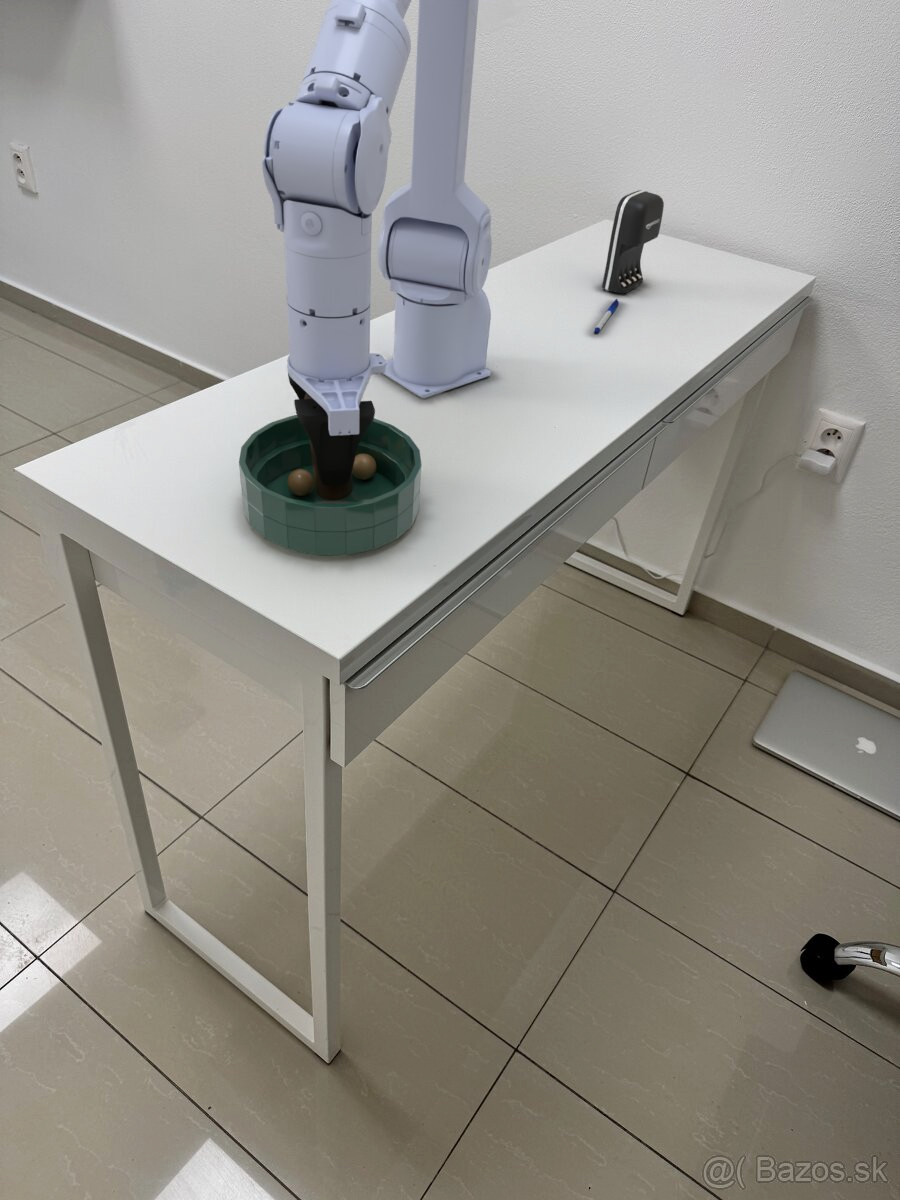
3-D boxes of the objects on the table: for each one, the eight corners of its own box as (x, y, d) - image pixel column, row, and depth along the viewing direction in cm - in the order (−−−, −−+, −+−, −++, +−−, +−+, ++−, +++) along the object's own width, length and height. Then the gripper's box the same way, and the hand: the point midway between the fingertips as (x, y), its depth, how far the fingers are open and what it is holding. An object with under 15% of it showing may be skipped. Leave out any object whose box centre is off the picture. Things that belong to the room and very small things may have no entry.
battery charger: (625, 299, 111) (645, 204, 103) (599, 290, 112) (617, 196, 105) (650, 285, 115) (671, 193, 108) (625, 276, 117) (644, 186, 109)
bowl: (350, 446, 79) (350, 396, 76) (452, 520, 71) (457, 468, 68) (212, 496, 71) (205, 443, 68) (309, 585, 64) (307, 530, 61)
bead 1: (309, 468, 72) (305, 461, 70) (320, 492, 72) (317, 485, 70) (284, 480, 72) (280, 472, 70) (296, 503, 72) (292, 496, 70)
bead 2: (371, 480, 72) (379, 480, 74) (371, 453, 72) (380, 454, 74) (346, 479, 73) (355, 479, 75) (346, 452, 72) (355, 453, 74)
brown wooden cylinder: (329, 505, 69) (318, 411, 63) (308, 487, 70) (296, 394, 65) (360, 491, 70) (353, 397, 64) (340, 474, 72) (330, 381, 66)
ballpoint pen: (611, 303, 110) (613, 296, 109) (618, 305, 109) (620, 297, 109) (592, 334, 102) (594, 326, 101) (600, 336, 102) (601, 328, 101)
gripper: (406, 345, 56) (398, 518, 65) (368, 262, 66) (366, 421, 75) (295, 349, 54) (303, 526, 63) (274, 263, 65) (283, 425, 73)
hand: (331, 469), depth 69 cm, fingers closed on brown wooden cylinder, 3 cm apart
